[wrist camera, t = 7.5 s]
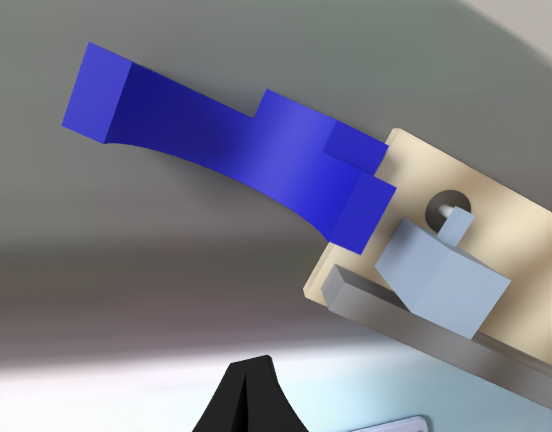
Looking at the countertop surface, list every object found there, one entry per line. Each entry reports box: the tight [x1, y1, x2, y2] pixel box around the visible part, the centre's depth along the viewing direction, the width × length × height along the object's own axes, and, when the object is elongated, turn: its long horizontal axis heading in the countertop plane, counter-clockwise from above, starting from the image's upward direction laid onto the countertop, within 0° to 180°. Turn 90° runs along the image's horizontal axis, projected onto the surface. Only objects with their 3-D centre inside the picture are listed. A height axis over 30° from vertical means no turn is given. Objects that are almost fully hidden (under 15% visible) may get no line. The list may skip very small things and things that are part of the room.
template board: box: [303, 128, 552, 409], centre depth 20 cm, size 22×10×6 cm, turn 63°
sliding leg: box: [374, 204, 511, 340], centre depth 18 cm, size 3×5×5 cm, turn 153°
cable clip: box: [62, 42, 397, 255], centre depth 17 cm, size 12×4×6 cm, turn 65°
